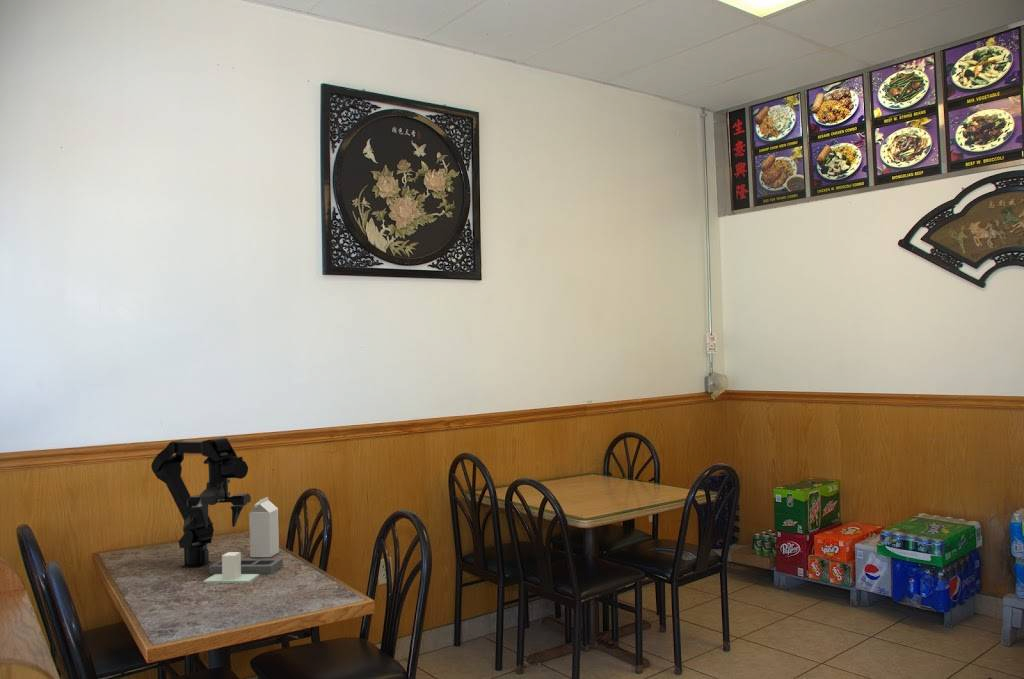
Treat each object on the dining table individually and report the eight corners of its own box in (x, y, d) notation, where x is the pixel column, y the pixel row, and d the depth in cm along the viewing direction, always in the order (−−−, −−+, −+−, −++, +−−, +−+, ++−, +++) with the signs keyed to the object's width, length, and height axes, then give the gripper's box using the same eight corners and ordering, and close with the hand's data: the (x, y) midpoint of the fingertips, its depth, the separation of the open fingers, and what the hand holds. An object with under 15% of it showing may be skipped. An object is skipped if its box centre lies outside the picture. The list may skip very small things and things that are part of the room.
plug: (222, 579, 231) (221, 555, 231) (228, 575, 235) (227, 552, 235) (235, 579, 230) (234, 555, 231) (241, 575, 234) (240, 552, 235)
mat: (203, 582, 230) (203, 580, 230) (215, 576, 237) (215, 574, 237) (249, 582, 228) (249, 580, 228) (259, 576, 235) (259, 574, 235)
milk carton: (279, 552, 264) (277, 496, 265) (270, 557, 257) (269, 500, 258) (259, 552, 265) (257, 496, 265) (250, 557, 258) (248, 500, 258)
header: (208, 574, 239) (208, 566, 239) (222, 566, 248) (222, 558, 248) (271, 574, 237) (271, 566, 237) (282, 566, 246) (282, 558, 246)
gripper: (177, 482, 239) (178, 533, 239) (235, 480, 238) (236, 532, 237) (195, 477, 250) (196, 525, 250) (250, 475, 249) (252, 524, 248)
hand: (219, 527), depth 246 cm, fingers open, 9 cm apart
